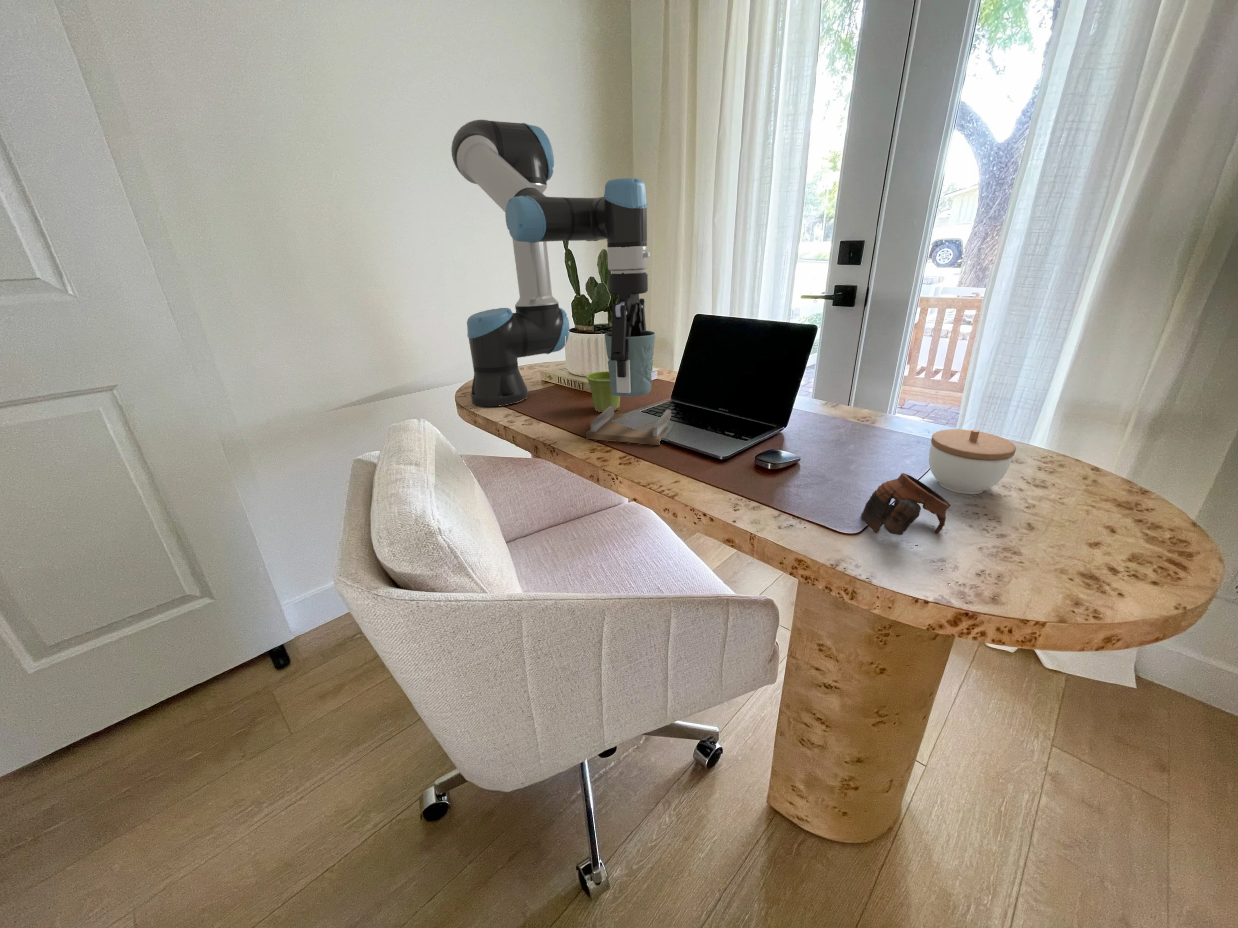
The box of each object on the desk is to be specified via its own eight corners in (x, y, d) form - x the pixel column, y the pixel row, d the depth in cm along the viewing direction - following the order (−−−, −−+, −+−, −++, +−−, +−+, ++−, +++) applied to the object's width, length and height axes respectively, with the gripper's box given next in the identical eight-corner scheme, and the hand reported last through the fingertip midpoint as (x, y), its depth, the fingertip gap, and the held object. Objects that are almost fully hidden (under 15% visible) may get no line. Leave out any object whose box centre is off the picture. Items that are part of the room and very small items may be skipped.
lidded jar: (1016, 503, 73) (1035, 445, 69) (936, 499, 75) (950, 442, 71) (982, 473, 82) (998, 420, 78) (912, 470, 84) (924, 418, 80)
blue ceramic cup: (598, 393, 102) (594, 335, 98) (625, 382, 110) (623, 328, 105) (638, 400, 97) (636, 338, 92) (664, 388, 104) (664, 330, 100)
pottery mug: (857, 506, 75) (895, 463, 72) (915, 546, 72) (956, 504, 68) (851, 523, 64) (895, 474, 61) (918, 572, 61) (968, 523, 58)
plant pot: (610, 402, 128) (608, 369, 125) (633, 409, 122) (632, 375, 118) (580, 409, 123) (578, 375, 119) (604, 418, 116) (602, 382, 113)
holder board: (586, 439, 104) (585, 423, 102) (608, 418, 116) (608, 404, 114) (659, 446, 99) (659, 429, 97) (675, 423, 111) (675, 409, 109)
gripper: (628, 274, 83) (632, 401, 92) (661, 268, 102) (661, 374, 111) (588, 275, 86) (595, 399, 95) (627, 269, 105) (630, 373, 114)
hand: (631, 386), depth 103 cm, fingers closed on blue ceramic cup, 9 cm apart
